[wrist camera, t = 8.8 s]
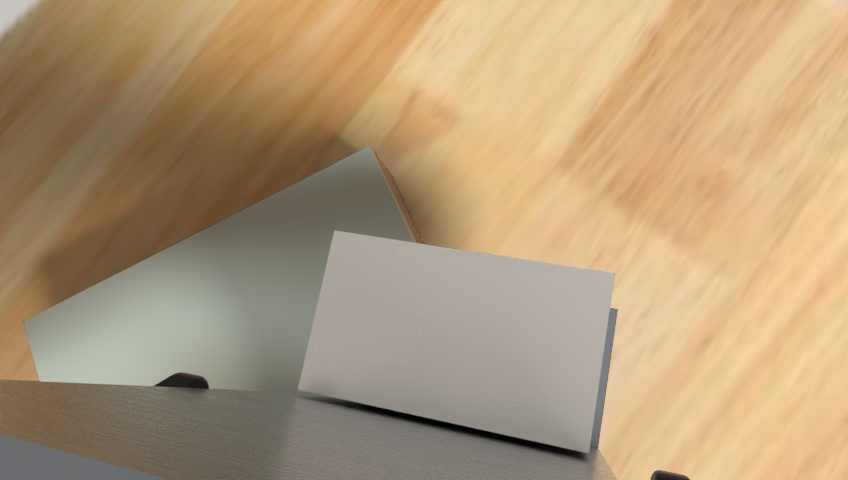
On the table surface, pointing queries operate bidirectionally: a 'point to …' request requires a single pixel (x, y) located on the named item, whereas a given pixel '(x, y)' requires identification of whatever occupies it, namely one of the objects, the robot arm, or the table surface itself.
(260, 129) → the table surface
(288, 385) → the plate
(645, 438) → the table surface
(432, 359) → the hand trolley
